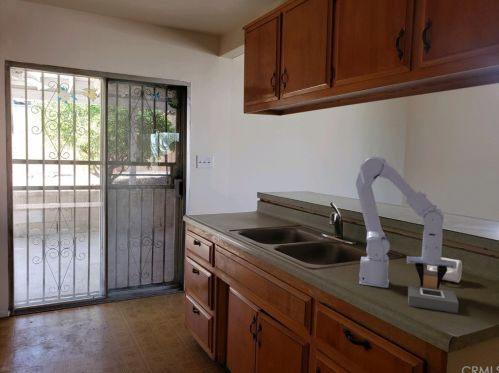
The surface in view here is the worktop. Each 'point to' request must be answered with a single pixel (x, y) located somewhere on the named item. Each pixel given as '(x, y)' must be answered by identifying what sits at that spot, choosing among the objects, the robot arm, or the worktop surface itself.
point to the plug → (430, 279)
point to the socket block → (432, 298)
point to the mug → (450, 271)
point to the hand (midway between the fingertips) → (429, 287)
